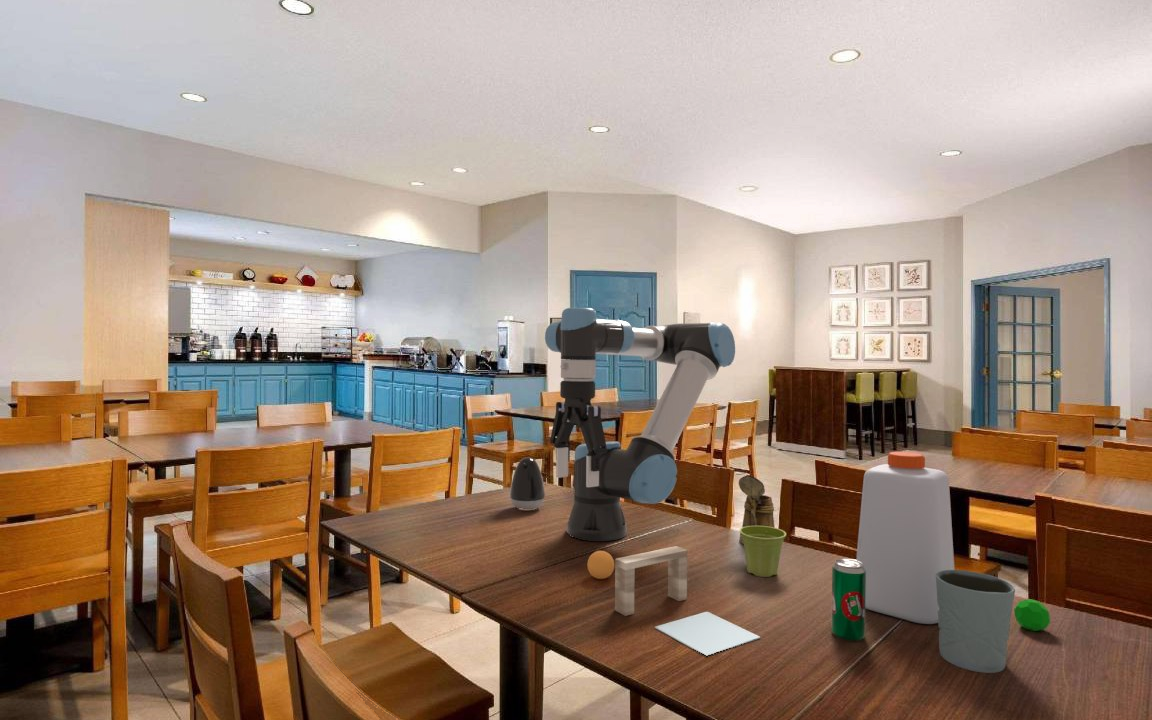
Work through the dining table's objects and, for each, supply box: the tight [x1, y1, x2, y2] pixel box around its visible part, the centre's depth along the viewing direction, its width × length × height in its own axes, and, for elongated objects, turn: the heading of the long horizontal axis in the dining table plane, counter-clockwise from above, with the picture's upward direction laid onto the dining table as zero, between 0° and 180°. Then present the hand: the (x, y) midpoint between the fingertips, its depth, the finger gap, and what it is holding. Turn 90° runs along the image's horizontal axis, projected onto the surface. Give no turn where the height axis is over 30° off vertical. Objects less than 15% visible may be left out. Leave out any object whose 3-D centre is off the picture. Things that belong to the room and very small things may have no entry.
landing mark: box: [654, 611, 761, 657], centre depth 105 cm, size 12×12×1 cm
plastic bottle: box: [855, 451, 955, 625], centre depth 117 cm, size 15×15×28 cm
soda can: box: [830, 558, 866, 642], centre depth 105 cm, size 5×5×12 cm
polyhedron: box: [1013, 598, 1051, 632], centre depth 108 cm, size 5×5×5 cm
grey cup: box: [936, 569, 1016, 674], centre depth 97 cm, size 10×10×12 cm
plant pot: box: [739, 526, 787, 578], centre depth 135 cm, size 9×9×9 cm
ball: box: [586, 550, 615, 580], centre depth 130 cm, size 6×6×6 cm
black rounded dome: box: [509, 457, 546, 509], centre depth 187 cm, size 10×10×15 cm
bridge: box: [614, 545, 688, 617], centre depth 117 cm, size 3×14×9 cm, turn 123°
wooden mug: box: [738, 474, 776, 545], centre depth 154 cm, size 9×14×18 cm, turn 148°
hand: (576, 481), depth 138 cm, fingers open, 11 cm apart
